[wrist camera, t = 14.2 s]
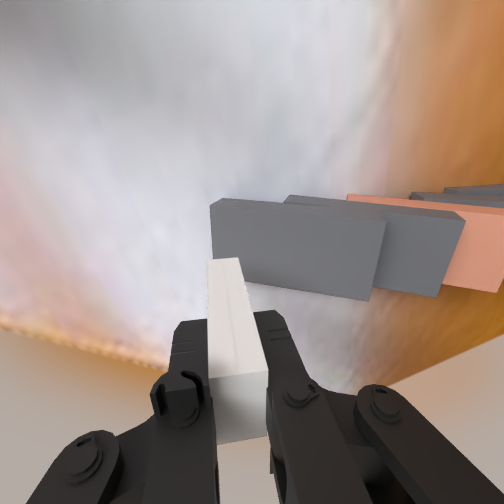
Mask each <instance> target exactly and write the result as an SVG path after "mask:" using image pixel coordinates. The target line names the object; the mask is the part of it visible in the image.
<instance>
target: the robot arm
mask: <svg viewBox="0 0 504 504" xmlns="http://www.w3.org/2000/svg"><path fill="white" fill-rule="evenodd" d="M206 279H207V319H199V320H190V321H181V322H180V324H179V325H178V327H177V328H176V330H175V331H174V335H173V342H172V349H171V356H170V363H169V370H168V372H167V373H165V374H164V375H162V376H161V377H160V378H159V379H158V380H157V381H156V383H155V384H154V385H153V388H152V390H151V392H150V398H151V402H152V406H153V409H154V415H153V416H151V417H150V418H149V419H148V420H147V421H145V422H144V423H142V424H140V425H139V426H137V427H135V428H133V429H131V430H129V431H126V432H124V433H122V434H120V435H118V436H116V437H115V436H114V435H113V433H111V432H108V431H105V430H99V431H91V432H89V433H87V434H85V435H82V436H80V437H78V438H77V439H75V440H74V441H73V442H71V443H70V444H69V445H68V446H66V447H65V448H64V449H63V451H62V452H61V453H60V454H59V456H58V457H57V458H56V459H55V460H54V462H53V463H52V465H51V466H50V468H49V469H48V471H47V473H46V474H45V475H44V477H43V478H42V480H41V481H40V483H39V484H38V486H37V488H36V489H35V491H34V492H33V494H32V495H31V497H30V498H29V500H28V501H27V503H26V504H220V493H219V470H218V461H217V445H220V444H225V443H231V442H236V441H242V440H247V439H252V438H258V437H264V436H267V430H268V435H269V440H270V444H271V448H270V474H273V473H274V478H275V482H276V488H277V492H278V497H279V502H280V504H504V494H503V493H502V492H501V491H500V490H499V489H498V488H497V487H496V486H495V485H494V484H493V483H492V482H491V481H490V480H489V479H488V478H487V477H486V476H485V475H484V474H482V473H481V472H480V471H479V470H478V469H477V468H476V467H475V466H474V465H473V464H472V463H471V462H470V461H469V460H468V459H467V458H466V457H465V456H464V455H463V454H462V453H461V452H460V451H459V450H458V449H457V448H456V447H455V446H454V445H452V443H450V441H448V440H447V439H446V438H445V437H444V436H443V435H442V434H441V433H440V432H439V431H438V430H437V429H436V428H435V427H434V426H433V425H432V424H431V423H430V422H429V421H428V420H427V419H426V418H425V417H424V416H423V415H422V414H421V413H419V411H418V410H417V409H416V408H415V407H413V406H412V405H411V404H410V403H409V402H408V401H407V400H406V399H405V398H404V397H403V396H401V395H400V394H399V393H398V392H396V391H395V390H393V389H390V388H388V387H386V386H383V385H376V384H372V385H367V386H364V387H363V388H362V389H361V390H359V392H358V395H357V396H355V395H349V394H342V393H336V392H332V391H328V390H326V389H324V388H322V387H320V386H319V385H318V384H317V382H315V381H314V380H313V379H311V378H310V377H309V375H308V373H307V372H306V369H305V367H304V365H303V362H302V360H301V358H300V355H299V353H298V351H297V348H296V346H295V343H294V341H293V339H292V336H291V334H290V332H289V330H288V327H287V325H286V322H285V320H284V318H283V317H282V316H281V315H280V314H279V313H278V312H277V311H275V310H270V311H262V312H253V311H252V307H251V304H250V300H249V296H248V293H247V289H246V285H245V281H244V278H243V274H242V270H241V266H240V263H239V259H238V257H236V258H224V259H212V260H206Z"/></svg>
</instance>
